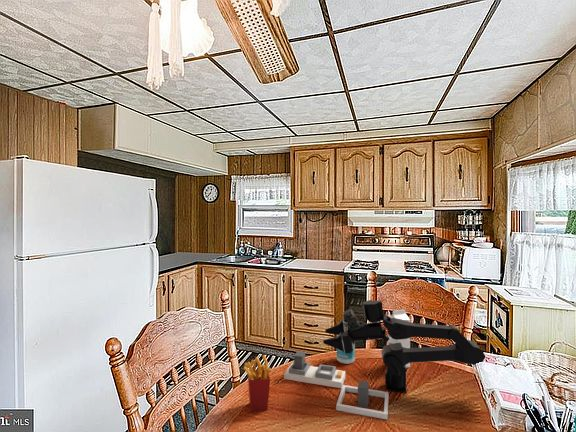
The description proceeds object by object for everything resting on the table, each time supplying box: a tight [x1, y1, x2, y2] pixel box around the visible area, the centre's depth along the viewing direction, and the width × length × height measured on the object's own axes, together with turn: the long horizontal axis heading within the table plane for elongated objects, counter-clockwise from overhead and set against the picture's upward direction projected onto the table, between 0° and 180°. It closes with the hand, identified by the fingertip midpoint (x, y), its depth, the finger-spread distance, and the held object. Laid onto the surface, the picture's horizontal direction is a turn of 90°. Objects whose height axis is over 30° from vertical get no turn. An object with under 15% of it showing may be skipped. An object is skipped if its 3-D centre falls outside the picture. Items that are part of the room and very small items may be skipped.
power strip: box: [283, 361, 346, 389], centre depth 121 cm, size 21×9×4 cm, turn 72°
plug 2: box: [357, 380, 370, 409], centre depth 104 cm, size 3×4×6 cm, turn 162°
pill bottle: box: [336, 335, 356, 365], centre depth 136 cm, size 8×7×14 cm
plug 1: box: [293, 350, 306, 370], centre depth 123 cm, size 3×4×6 cm, turn 162°
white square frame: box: [335, 384, 389, 420], centre depth 104 cm, size 15×13×2 cm
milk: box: [388, 309, 411, 369], centre depth 132 cm, size 6×6×22 cm
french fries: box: [243, 354, 272, 413], centre depth 103 cm, size 9×8×15 cm
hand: (324, 336), depth 120 cm, fingers open, 9 cm apart
